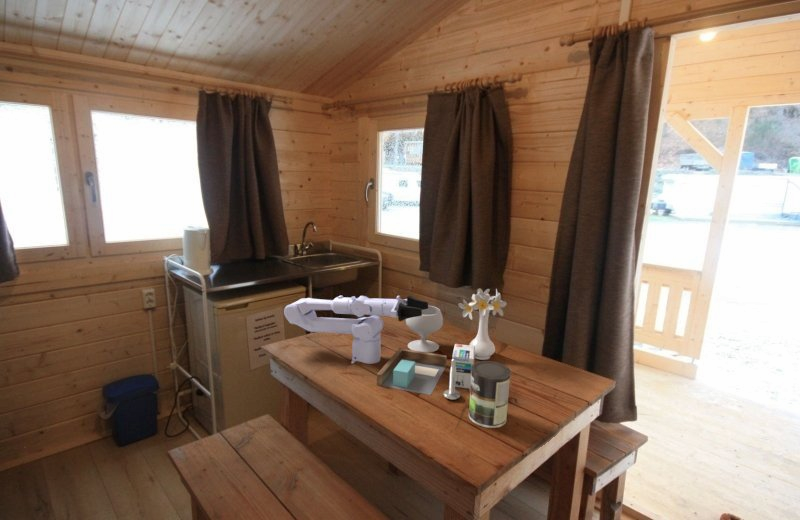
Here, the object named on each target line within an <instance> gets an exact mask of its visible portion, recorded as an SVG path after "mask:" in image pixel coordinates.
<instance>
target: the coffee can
mask: <svg viewBox="0 0 800 520" xmlns="http://www.w3.org/2000/svg"><path fill="white" fill-rule="evenodd" d="M471 371H472V372H471V388H470V391H469V404H468V405H469V406H468V407H469V408H468V418H469V420H470V421H471V422H472V423H473V424H475V425H477V426H479V427H483V428H486V429H496V428H497V429H498V428H501V427H503V426H504V425H505V424H506V423H507V415H508V404H509V392H510V384H511V383H510V380H511V376H512V370H511V369H510V368H509V367H508V366H506V365H505V364H503V363H500V362H497V361H491V360H490V361H489V360H481V361H480V360H479V361H477V362H474V364H473V365H472V366H471Z"/></svg>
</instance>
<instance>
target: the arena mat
mask: <svg viewBox="0 0 800 520" xmlns="http://www.w3.org/2000/svg"><path fill="white" fill-rule="evenodd" d="M445 369H446V367H442V366H436V365H430V364H424V363H418V362H415V377H414V378H413V380H412V381H411V383H410V384H409V386H408V387H407V388H405V387H400V386H394V385H393V372H392V373H391V374H390V375H389V377H388V378H387V379H386V380H385V382H384V383H383V384H382V386H381V387H386V388H391V389H397V390H401V391H402V390H403V391H405V392H406V391H407V392H412V393H417V394H422V395H428V396H431V395H432V393H433V391H434V390H435V388H436V386H437V384H438V382H439V380H440V378H441V377H442V375H443V372H444V371H445Z"/></svg>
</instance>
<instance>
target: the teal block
mask: <svg viewBox="0 0 800 520" xmlns="http://www.w3.org/2000/svg"><path fill="white" fill-rule="evenodd" d="M414 377H415V362H414V361H408V360H401V361H400V362H399V364H398V365H397V366H396V367H395V369H394V370H393V385H394V386H400V387H405V388H407V387H408V386H409V384H410V383H411V381H412V380H413V378H414Z"/></svg>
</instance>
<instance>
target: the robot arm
mask: <svg viewBox="0 0 800 520" xmlns="http://www.w3.org/2000/svg"><path fill="white" fill-rule="evenodd" d="M428 305H429V302H428V301H425V300H421V299H418V298H415V297H414V296H412V295H408V296H406V298H405V299H403V298H401V295H397V296H396V298H375V297H374V298H372V297H371V298H369V297H368V296H366V295H360V296H359V297H356V296H355V295H354V296H351V297H348V296H347V297H344V296H343V295H339V296H336V297H335V298H334V299H320V298H312V297H307V298H305V297H302V298H300V299H298V300H297V301H295V302H292V303H291V304H290V303H289V304H287V305H286V306H285V307H284V309H283V314H284V317H285V319H286V320H287V321H288V323H289V324H291V325H296V326H299V327H300V328H302V329H304V330H306V331H307V332H313V333H329V334H331V333H332V334H343V335H344V334H345V335H346V334H347V335H352V336H353V337H354V338H353V340H352V344H351V349H352V350H351V358H352V359H351V364H354V363H356V362H359V363H360V362H361V363H362V364H369V365H371V364H377V363H379V362H380V361H381V353H382V352H381V344H382V343H381V342H382V341H381V339H382V336H381V331H382V330H383V328H384V321H383V319H382V318H381V316H382V317H383V316H385V317H391V318H395V319H396V318H398V320H397V321H399V322H403V321H406V319H408V318H412V317H418V316H422V310H423V309H428ZM316 311H333V313H335V314H341V315H354V316H356V317H357V318H343V317H342V318H341V317H340V318H339V317H323V316H320V317H318V316H317V313H316ZM365 315H366V316H367V317H366V316H365Z"/></svg>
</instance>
